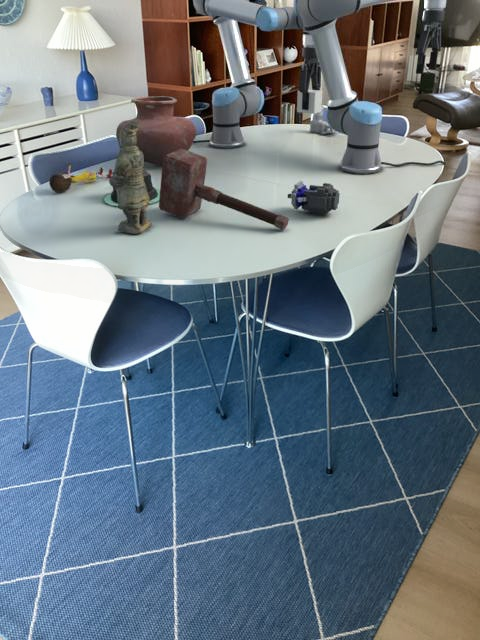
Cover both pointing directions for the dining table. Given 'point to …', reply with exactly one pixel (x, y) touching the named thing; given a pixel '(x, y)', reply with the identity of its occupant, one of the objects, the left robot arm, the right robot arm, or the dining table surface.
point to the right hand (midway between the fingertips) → (425, 71)
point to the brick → (311, 102)
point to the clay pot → (160, 128)
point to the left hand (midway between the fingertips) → (309, 108)
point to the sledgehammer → (200, 190)
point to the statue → (131, 182)
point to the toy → (315, 198)
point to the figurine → (74, 179)
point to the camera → (320, 124)
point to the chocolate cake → (152, 192)
